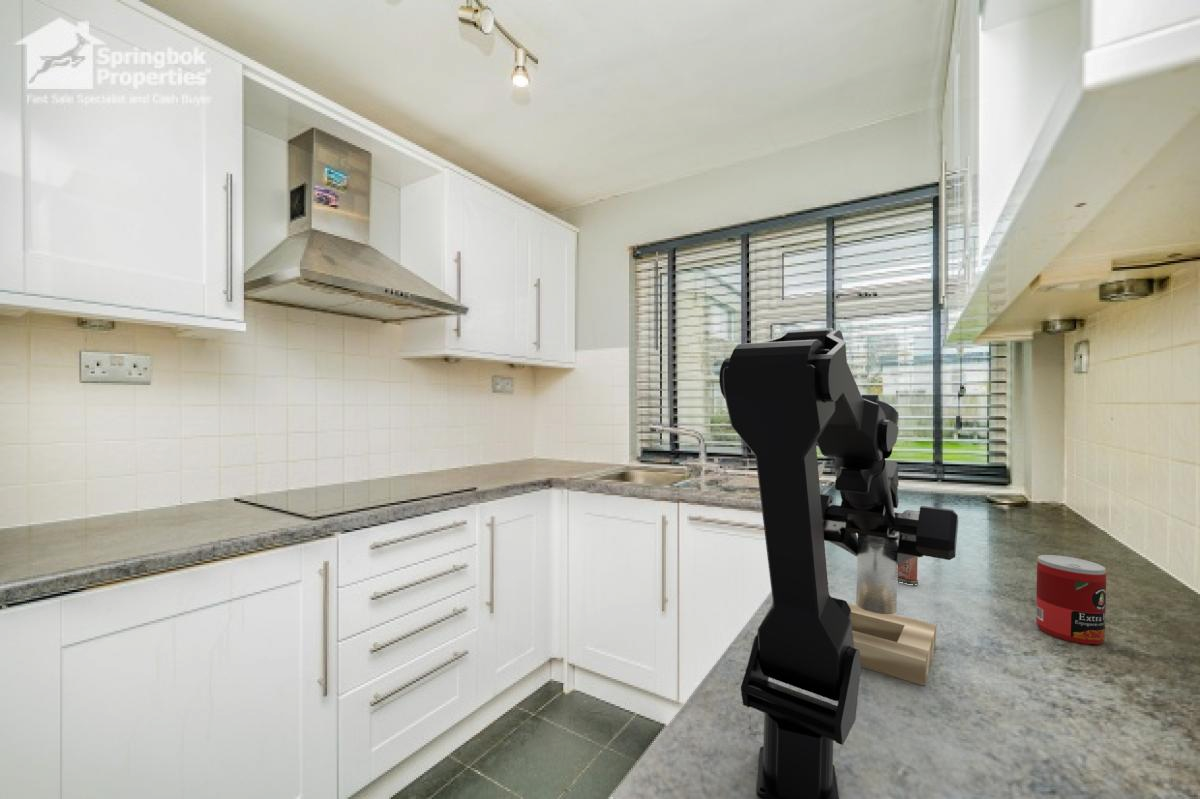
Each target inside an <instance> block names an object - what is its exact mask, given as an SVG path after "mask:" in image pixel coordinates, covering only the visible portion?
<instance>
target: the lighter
mask: <svg viewBox="0 0 1200 799" xmlns="http://www.w3.org/2000/svg"><path fill="white" fill-rule="evenodd" d="M899 537H900V535H899ZM898 543H899V539H898ZM918 559H919V557H912V558H910V559H908V560H906V561H905V562H904V563H903V564H902V565H899V564H898V576H897V581H898V582H903V583H907V584H913V585H915V584H918V585H919V580H918ZM898 582H897V583H898Z"/></svg>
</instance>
